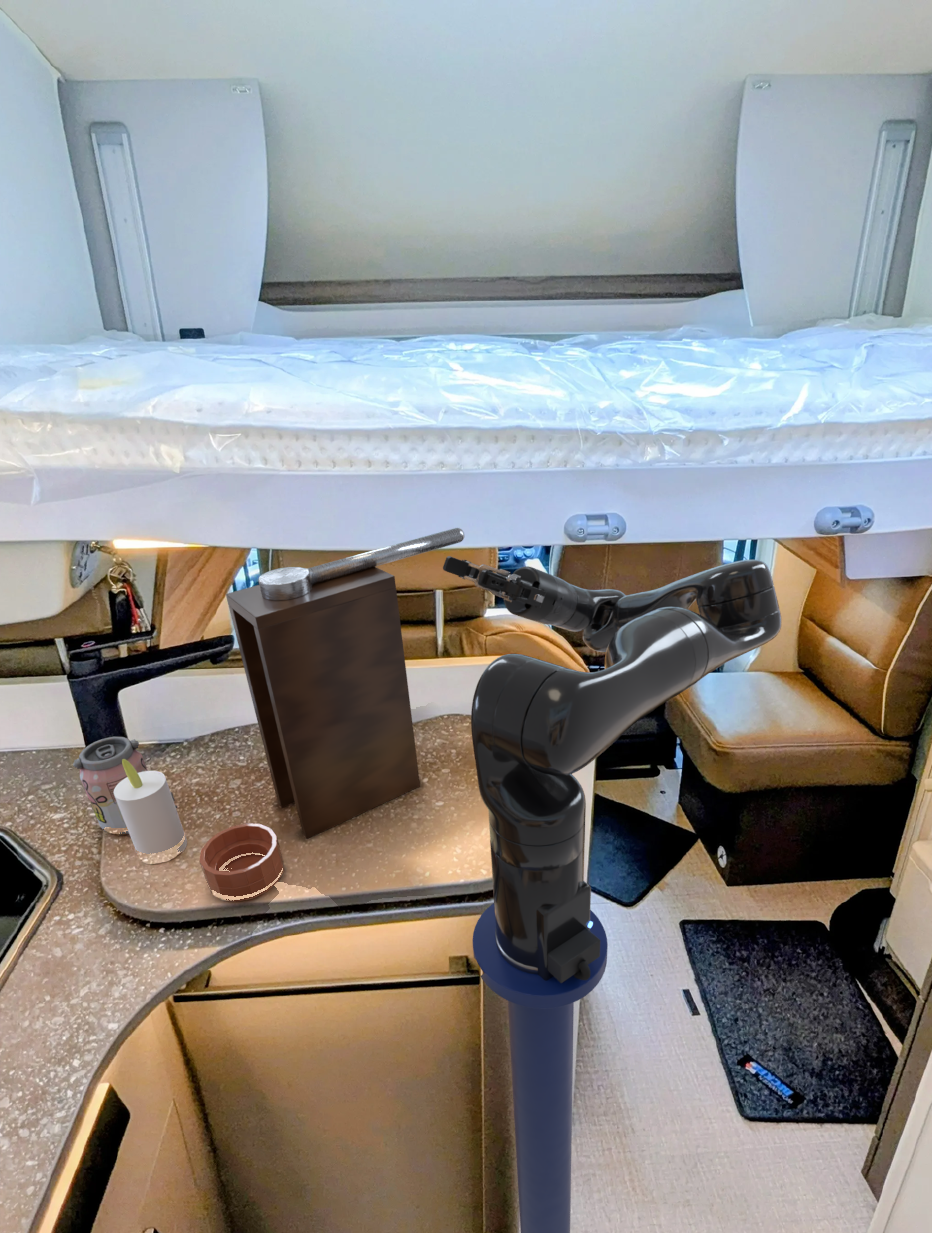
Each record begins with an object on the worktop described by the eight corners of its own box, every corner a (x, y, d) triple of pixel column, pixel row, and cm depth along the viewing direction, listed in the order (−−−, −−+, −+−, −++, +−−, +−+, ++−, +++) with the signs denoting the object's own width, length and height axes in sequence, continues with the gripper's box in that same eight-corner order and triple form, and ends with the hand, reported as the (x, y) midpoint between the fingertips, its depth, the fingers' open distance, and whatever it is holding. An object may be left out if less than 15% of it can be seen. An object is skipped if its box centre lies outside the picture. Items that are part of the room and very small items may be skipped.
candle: (198, 842, 95) (167, 749, 88) (155, 871, 91) (119, 776, 83) (170, 826, 99) (139, 736, 91) (128, 853, 94) (91, 761, 87)
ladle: (451, 536, 99) (450, 522, 98) (476, 545, 94) (475, 530, 93) (254, 591, 85) (250, 575, 84) (273, 605, 81) (269, 588, 80)
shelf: (386, 756, 110) (356, 557, 94) (420, 786, 102) (394, 575, 86) (277, 803, 101) (225, 593, 85) (306, 839, 94) (255, 617, 78)
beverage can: (94, 813, 103) (65, 744, 97) (153, 790, 107) (128, 723, 101) (106, 846, 96) (76, 774, 90) (169, 821, 100) (144, 750, 94)
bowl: (296, 882, 87) (288, 851, 85) (224, 917, 83) (213, 886, 80) (268, 843, 94) (260, 813, 91) (200, 874, 90) (190, 844, 87)
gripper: (520, 563, 113) (443, 533, 103) (582, 585, 103) (504, 555, 92) (503, 607, 115) (426, 582, 104) (563, 634, 104) (484, 609, 94)
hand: (463, 570), depth 98 cm, fingers open, 8 cm apart
